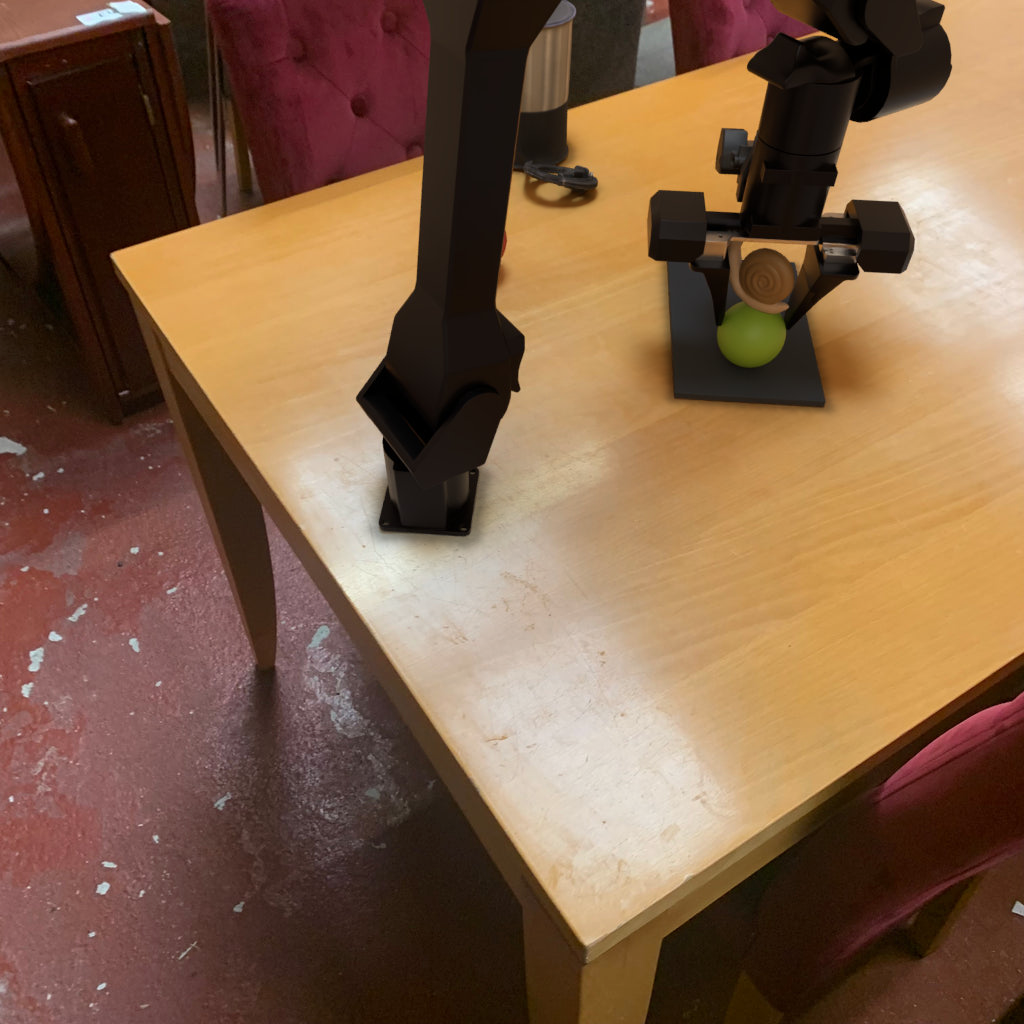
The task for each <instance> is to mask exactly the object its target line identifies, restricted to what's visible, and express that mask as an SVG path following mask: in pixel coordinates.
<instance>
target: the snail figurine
mask: <svg viewBox="0 0 1024 1024" xmlns="http://www.w3.org/2000/svg"><path fill="white" fill-rule="evenodd" d="M743 244H744V242H743V241H730V242H729V246H728V247H727V248H728V255H729V262H730V276H729V281H730V285H731V287H732V289H733V291H734V292H735V293H736V295H737V296H738V297H739V298H741V299H742V300H743V301H742V302H739V303H737V304H735V305H734V306H732V307H731V308H730V309H729V310H728V311H727V312H726V313H725V316H724V319H723V322H722V325H721V326H718V330H717V341H718V345H719V348H720V350H721V352H722V354H723V355H724V356H725V357H726V358H727V359H728V360H729V361H730V362H732V363H733V364H735V365H738V366H741V367H746V368H754V367H759V366H762V365H765V364H767V363H768V362H770V361H771V360H773V359H774V358H775V357H776V356H777V355H778V354H779V352H780V351H781V349H782V347H783V345H784V342H785V338H786V327H785V322H784V319H783V317H782V315H781V314H780V312H782V311H785V310H786V309H788V308H789V305H788V304H786V303H783V302H780V301H782V300H784V299H785V298H787V297H788V296H789V295H790V293H791V292H792V290H793V287H794V283H795V275H794V270H793V268H792V265H791V264H790V262H791V261H789V259H788V258H787V256H786V255H784V254H783V253H781V252H780V251H778V250H776V249H773V248H770V247H769V248H768V247H762V248H757V249H755V250H752V251H750V252H749V253H748V254H747V255H746V256H745V257H744V259H743V258H742V246H743ZM742 260H743V262H742Z"/></svg>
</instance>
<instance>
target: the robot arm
mask: <svg viewBox="0 0 1024 1024" xmlns="http://www.w3.org/2000/svg"><path fill="white" fill-rule="evenodd" d="M561 1H562V0H422V4H423V7H424V10H425V14H426V18H427V21H428V25H429V26H428V27H429V33H430V34H429V35H430V42H429V43H430V45H429V61H428V74H427V75H428V76H427V77H428V79H427V92H426V93H427V94H426V110H425V125H424V127H425V128H424V143H423V161H422V178H421V196H420V209H419V210H420V211H419V225H418V226H419V227H418V243H417V244H418V245H417V259H416V260H417V262H416V277H415V278H416V279H415V285H414V289H413V291H412V292H411V293H410V294H409V296H407V298H406V300H405V301H404V302H403V303H402V305H401V306H400V308H399V309H398V310H397V312H396V313H395V315H394V317H393V319H392V320H393V321H392V325H391V329H390V334H389V340H388V343H387V348H386V352H385V353H386V354H385V355H384V357H383V359H381V361H380V363H379V364H378V365H377V367H376V368H375V370H374V371H373V372H372V374H371V375H370V377H369V378H368V379H367V380H366V382H365V384H364V385H363V386H362V387H361V389H360V390H359V391H358V393H357V395H356V396H355V401H356V402H357V404H358V405H359V407H360V408H361V409H362V411H363V412H364V414H365V415H366V416H367V418H368V419H369V420H370V421H371V422H372V423H373V424H374V426H375V427H376V429H377V430H378V431H379V433H380V434H381V435H382V441H381V444H382V450H383V458H384V465H385V471H386V478H387V486H386V489H385V493H384V497H383V501H382V506H381V510H380V514H379V518H378V529H379V530H381V531H382V532H390V533H404V534H405V533H406V534H419V535H435V536H449V537H461V538H462V537H464V538H465V537H467V536H470V534H471V531H472V525H473V518H474V512H475V507H476V506H475V505H476V499H477V493H478V486H479V481H480V469H479V467H482V466H484V465H485V464H486V463H487V461H488V457H489V454H490V452H491V448H492V446H493V443H494V441H495V437H496V436H497V435H496V434H497V432H498V429H499V427H500V423H501V420H503V418H504V416H505V415H506V413H507V411H508V408H509V406H510V402H511V399H512V392H515V393H519V392H520V391H521V385H520V382H519V376H520V375H519V371H520V367H521V364H522V361H523V358H524V356H525V355H524V354H525V351H526V336H525V335H524V333H523V332H521V330H519V328H517V327H516V326H515V325H514V323H512V322H511V321H510V319H508V318H507V317H506V316H505V315H504V314H503V313H502V312H501V310H499V308H498V307H497V294H498V286H499V279H500V273H501V272H500V271H501V264H502V258H503V257H502V250H503V242H504V234H505V231H506V225H507V217H508V210H509V202H510V194H511V188H512V182H513V181H512V179H513V174H514V173H513V172H514V168H513V166H514V158H515V150H516V143H517V135H518V127H519V120H520V112H521V104H522V97H523V89H524V82H525V74H526V66H527V59H528V55H529V51H530V48H531V45H532V44H533V42H534V41H535V39H536V38H537V36H538V35H539V33H540V32H541V30H542V29H543V27H544V26H545V24H546V23H547V21H548V20H549V19H550V17H551V16H552V14H553V13H554V11H555V10H556V8H557V7H558V5H559V4H560V2H561ZM769 2H770V3H771V4H772V6H773V7H774V8H775V10H777V12H779V13H780V14H782V15H785V16H787V17H788V18H791V19H793V20H796V21H798V22H800V23H802V24H804V25H807V26H809V27H811V28H813V29H815V30H817V31H819V32H821V33H823V34H825V35H811V36H807V37H804V38H800V39H798V38H795V37H793V36H791V35H789V34H787V33H784V32H781V31H780V32H777V34H776V35H775V37H774V38H773V40H772V41H770V42H769V44H767V45H766V46H765V47H762V49H759V50H758V51H757V52H755V54H754V55H753V56H752V57H751V58H750V59H749V60H748V62H747V65H746V70H747V71H748V72H749V73H751V74H752V75H754V76H756V77H758V78H760V79H762V80H764V81H766V82H767V86H766V90H765V94H764V99H763V104H762V109H761V113H760V117H759V121H758V128H757V130H756V133H755V136H754V138H753V139H752V140H751V139H748V138H749V132H748V130H746V129H744V128H737V127H735V128H734V127H721V129H720V134H719V138H718V143H717V149H716V156H715V165H714V169H715V171H716V172H717V173H718V174H719V175H732V176H736V185H737V187H736V190H735V192H736V193H735V197H736V203H741V206H740V211H739V212H735V211H734V212H733V211H716V210H706V209H707V207H706V200H705V192H704V191H692V190H691V191H689V190H669V189H658V190H657V191H656V192H655V193H654V194H653V195H652V196H651V197H650V199H649V203H648V210H647V217H646V230H647V231H646V232H647V236H646V237H647V257H648V258H650V259H652V260H653V261H655V262H666V263H667V262H685V263H689V268H690V269H691V270H692V271H694V272H702V273H703V274H704V277H705V279H706V282H707V285H708V287H709V290H710V293H711V296H712V302H713V308H714V315H715V321H716V326H721V325H722V322H723V319H724V316H725V310H726V301H727V293H728V285H729V276H730V262H729V255H728V248H727V247H728V246H729V242H730V241H743V243H744V242H746V243H765V244H781V245H782V244H784V245H802V246H803V245H804V246H806V248H805V254H804V258H803V261H802V264H801V267H800V270H799V272H798V274H797V275H798V277H797V280H796V283H795V285H794V288H793V291H792V293H791V296H790V298H789V301H788V305H789V308H788V309H786V311H785V316H784V322H785V327H786V330H790V329H791V328H792V327H793V326H794V325H795V324H796V323H797V322H798V321H799V320H800V319H801V318H802V317H803V316H804V315H805V314H806V315H807V313H808V312H810V310H811V309H812V308H813V307H815V306H816V304H818V302H820V301H821V300H822V299H823V298H825V297H826V296H827V295H829V294H830V293H831V292H832V291H833V290H835V289H836V288H837V287H839V286H840V285H841V284H843V283H844V282H845V281H855V280H857V279H858V278H859V276H860V273H861V270H862V271H863V272H864V273H875V274H892V275H893V274H894V275H895V274H896V275H901V274H903V273H905V272H906V271H907V270H908V267H909V265H910V262H911V260H912V257H913V254H914V252H915V245H916V244H915V243H916V237H915V234H914V233H913V230H912V228H911V225H910V223H909V219H908V218H907V214H906V212H905V209H903V207H902V205H901V204H900V203H899V201H893V200H872V199H851V200H849V202H847V203H846V205H845V208H844V212H824V209H825V206H826V202H827V199H828V196H829V191H830V189H831V188H832V187H835V185H836V182H837V178H838V175H839V171H838V169H837V168H838V167H837V165H838V161H839V157H840V154H841V152H842V151H841V150H842V147H843V144H844V140H845V137H846V133H847V130H848V126H849V123H850V121H851V122H855V123H859V124H860V123H869V122H871V121H875V120H877V119H881V118H884V117H886V116H891V115H893V114H895V113H899V112H901V111H904V110H908V109H910V108H914V107H917V106H919V105H923V104H925V103H928V102H930V101H932V100H933V99H934V98H935V97H937V96H938V95H939V94H940V93H941V91H943V89H944V88H945V86H947V85H946V84H947V83H948V81H949V79H950V77H951V74H952V73H951V72H952V70H953V64H952V47H951V42H950V39H949V37H948V33H947V32H946V30H945V29H944V27H943V25H942V24H941V22H942V18H943V16H944V13H945V10H946V6H945V4H943V3H941V2H938V1H936V0H769ZM826 35H828V36H830V37H828V36H826ZM831 37H833V38H835V39H836V40H835V39H833V38H831ZM823 212H824V213H823ZM501 257H502V258H501ZM859 267H860V268H861V270H860V268H859Z"/></svg>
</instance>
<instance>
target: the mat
mask: <svg viewBox="0 0 1024 1024" xmlns="http://www.w3.org/2000/svg"><path fill="white" fill-rule="evenodd" d="M743 260H744V259H742V262H743ZM789 262H790V264H791V265H792V268H793V270H794V275H795V283H796V280H797V277H798V275H799V274H798V271H797V266H796V262H795V261H789ZM666 268H667V269H666V270H667V290H668V304H669V305H668V306H669V309H668V310H669V324H670V326H669V327H670V344H671V363H672V364H671V365H672V384H673V398H674V399H680V400H681V399H683V400H698V401H699V400H701V401H717V402H733V403H749V404H765V405H766V404H768V405H783V406H798V407H799V406H800V407H815V408H816V407H817V408H824V407H825V404H826V403H827V402H826V401H827V400H826V397H825V392H824V387H823V384H822V379H821V378H822V377H821V374H820V369H819V365H818V360H817V356H816V351H815V348H814V342H813V338H812V333H811V330H810V325H809V320H808V315H807V313H806V314H805V315H804V316H803V317H802V318H801V319H800V320H799V321H798V322H797V323H796V324H795V325H794V326H793V327H792V328H791V329H790V330H786V338H785V342H784V345H783V347H782V349H781V351H780V352H779V354H778V355H777V356H776V357H775V358H774V359H773V360H771V361H770V362H768V363H767V364H765V365H762V366H759V367H754V368H746V367H741V366H738V365H735V364H733V363H732V362H730V361H729V360H728V359H727V358H726V357H725V356H724V355H723V354H722V352H721V350H720V348H719V345H718V341H717V330H718V326H716V321H715V315H714V308H713V302H712V296H711V293H710V290H709V287H708V285H707V282H706V279H705V277H704V274H703V273H702V272H694V271H692V270H691V269H690V268H689V263H685V262H667V261H666ZM795 283H794V285H795ZM793 288H794V287H793ZM792 291H793V290H792ZM791 293H792V292H791ZM791 293H790V295H789V296H788V297H787V298H785V299H784V300H782V301H780V302H783V303H786V304H788V301H789V298H790V296H791ZM742 301H743V300H742V299H741V298H739V297H738V296H737V295H736V293H735V292H734V291H733V289H732V287H731V285H730V281H729V285H728V293H727V301H726V310H725V313H726V312H727V311H728V310H729V309H730V308H731V307H732V306H734V305H735V304H737V303H739V302H742ZM785 311H786V310H785ZM785 311H782V312H780V314H781V315H782V317H783V319H784V316H785Z"/></svg>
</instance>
